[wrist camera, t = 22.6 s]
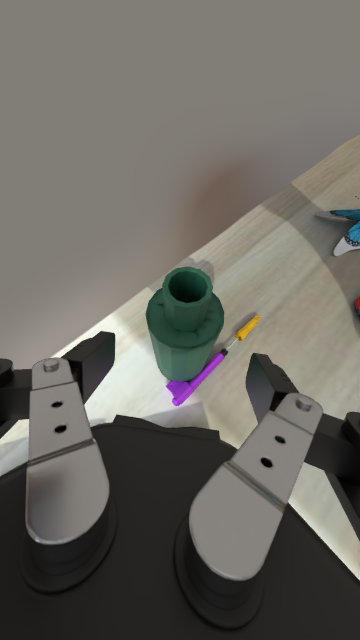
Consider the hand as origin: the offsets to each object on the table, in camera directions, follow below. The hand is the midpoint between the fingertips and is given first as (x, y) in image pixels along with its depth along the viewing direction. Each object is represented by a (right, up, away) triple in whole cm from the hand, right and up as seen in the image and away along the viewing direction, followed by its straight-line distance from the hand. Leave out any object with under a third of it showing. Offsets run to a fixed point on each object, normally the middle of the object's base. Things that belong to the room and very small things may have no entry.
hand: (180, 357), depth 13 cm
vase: (0, -3, +15) cm, 15 cm away
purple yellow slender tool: (-1, -7, +11) cm, 13 cm away
